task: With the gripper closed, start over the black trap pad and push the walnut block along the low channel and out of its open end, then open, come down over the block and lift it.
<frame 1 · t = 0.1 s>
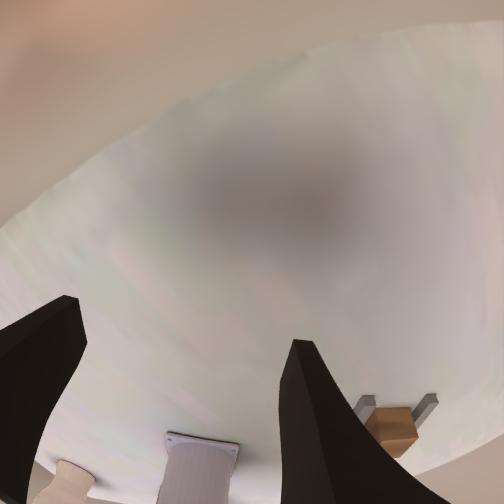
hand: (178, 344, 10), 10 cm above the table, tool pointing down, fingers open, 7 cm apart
walnut block: (383, 418, 27), resting in guide channel
guide channel: (372, 434, 28), on the table
cup: (77, 469, 41), on the table
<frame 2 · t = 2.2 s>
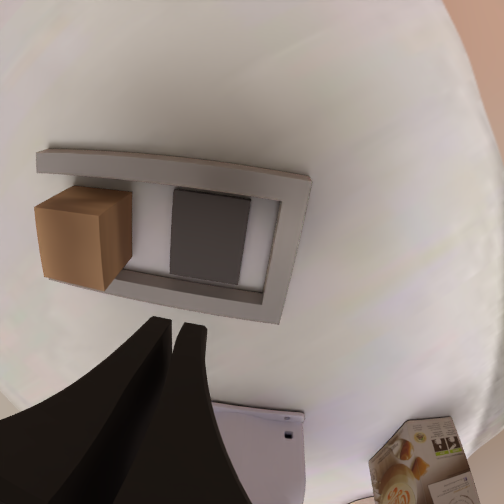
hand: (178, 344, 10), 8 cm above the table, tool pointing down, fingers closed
trap pad: (207, 237, 17), resting in guide channel
walnut block: (102, 220, 17), resting in guide channel
guide channel: (147, 228, 17), on the table
coffee box: (408, 440, 27), on the table
cup: (366, 502, 36), on the table
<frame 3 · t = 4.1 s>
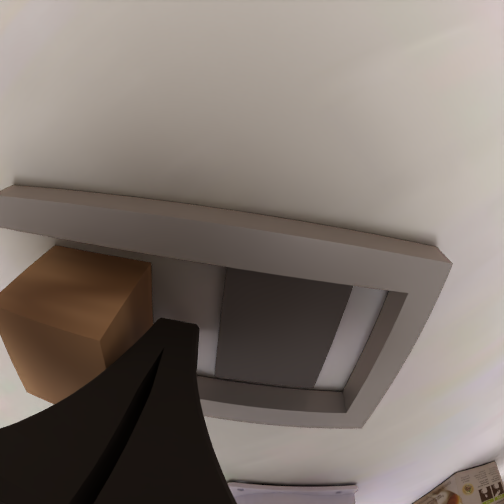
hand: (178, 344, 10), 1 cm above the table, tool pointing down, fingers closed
trap pad: (276, 332, 11), resting in guide channel
walnut block: (104, 299, 11), resting in guide channel, touching gripper
guide channel: (179, 317, 11), on the table
coffee box: (449, 485, 20), on the table
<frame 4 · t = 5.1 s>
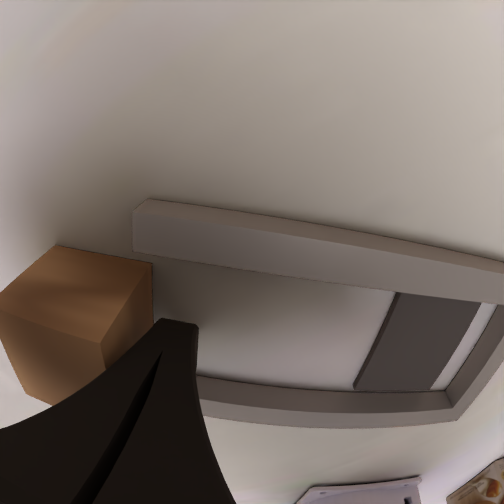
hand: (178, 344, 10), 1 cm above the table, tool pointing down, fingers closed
trap pad: (416, 345, 11), resting in guide channel
walnut block: (104, 300, 11), on the table, touching gripper
guide channel: (338, 339, 11), on the table
coffee box: (484, 474, 20), on the table
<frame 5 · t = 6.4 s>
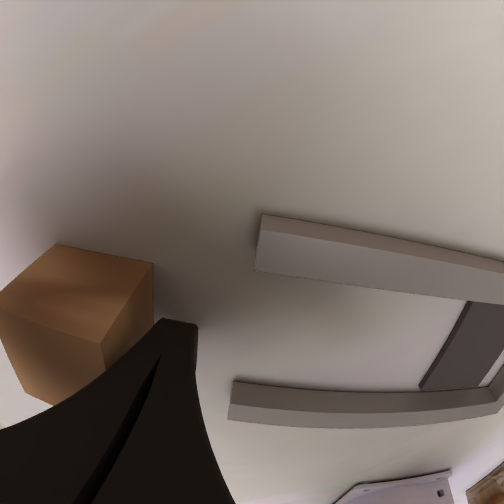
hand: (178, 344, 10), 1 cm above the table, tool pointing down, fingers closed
trap pad: (474, 346, 11), resting in guide channel
walnut block: (104, 300, 11), on the table, touching gripper
guide channel: (416, 344, 11), on the table
coffee box: (501, 468, 20), on the table
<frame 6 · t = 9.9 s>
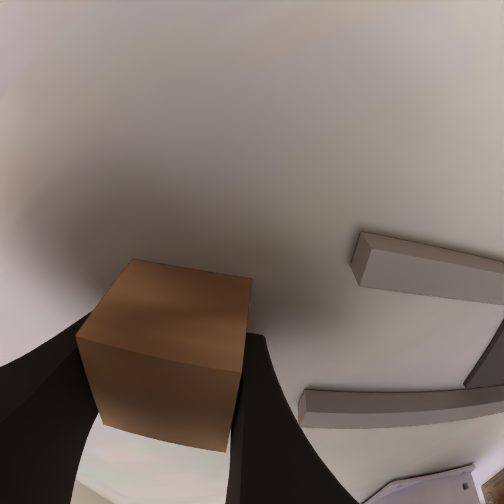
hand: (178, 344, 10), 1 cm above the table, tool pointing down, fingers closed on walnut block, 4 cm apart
walnut block: (187, 317, 11), on the table, touching gripper
guide channel: (467, 346, 11), on the table
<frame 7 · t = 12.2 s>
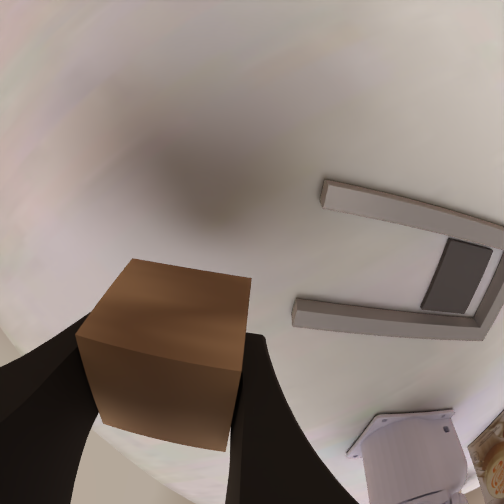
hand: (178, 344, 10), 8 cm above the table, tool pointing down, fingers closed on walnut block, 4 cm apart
trap pad: (457, 278, 17), resting in guide channel
walnut block: (187, 316, 11), point 7 cm above the table, touching gripper
guide channel: (415, 271, 17), on the table
coffee box: (498, 424, 27), on the table
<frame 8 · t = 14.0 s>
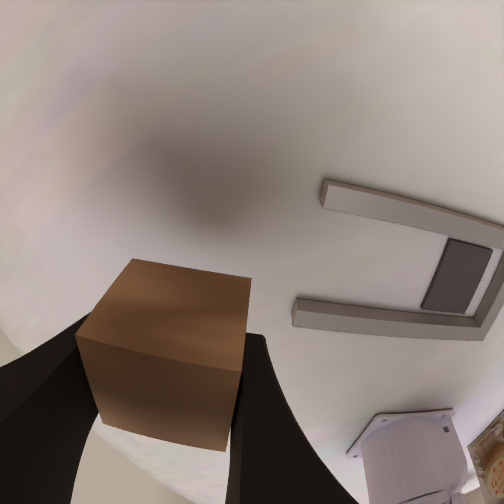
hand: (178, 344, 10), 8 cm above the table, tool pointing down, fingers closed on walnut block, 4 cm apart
trap pad: (457, 278, 17), resting in guide channel
walnut block: (187, 316, 11), point 7 cm above the table, touching gripper
guide channel: (415, 271, 17), on the table
coffee box: (498, 424, 27), on the table
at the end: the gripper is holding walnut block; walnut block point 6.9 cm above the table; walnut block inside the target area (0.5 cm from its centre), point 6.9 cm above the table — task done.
